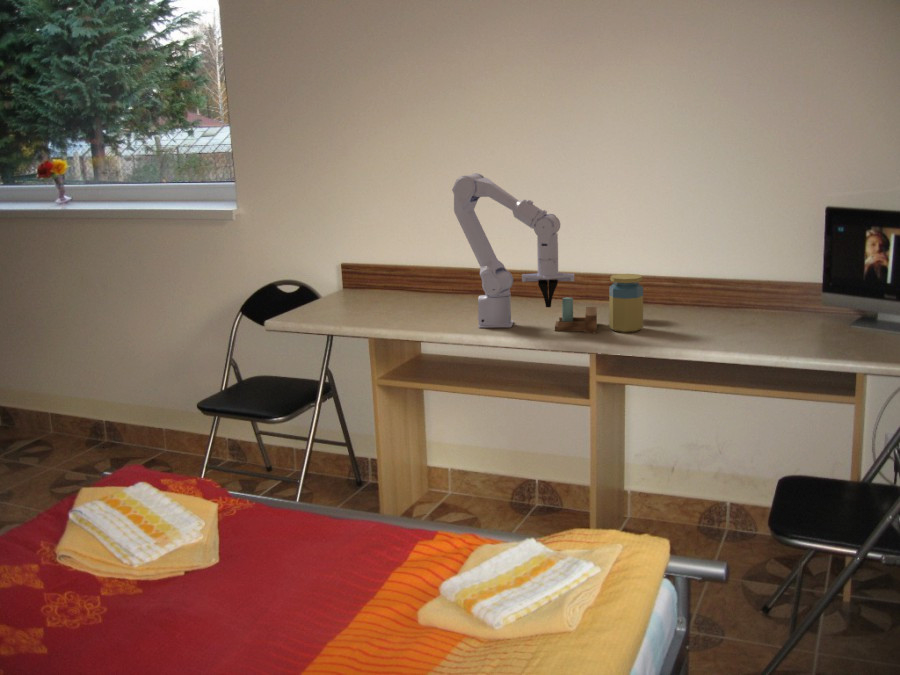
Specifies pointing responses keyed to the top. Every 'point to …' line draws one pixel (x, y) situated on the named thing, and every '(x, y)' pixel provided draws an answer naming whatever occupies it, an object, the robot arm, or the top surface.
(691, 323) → the top surface
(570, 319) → the peg
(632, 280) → the jar
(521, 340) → the top surface
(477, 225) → the robot arm
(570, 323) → the cradle
